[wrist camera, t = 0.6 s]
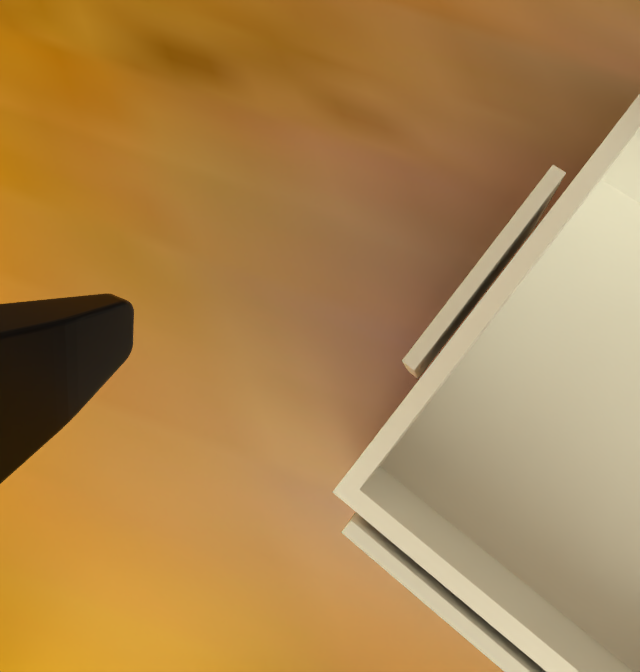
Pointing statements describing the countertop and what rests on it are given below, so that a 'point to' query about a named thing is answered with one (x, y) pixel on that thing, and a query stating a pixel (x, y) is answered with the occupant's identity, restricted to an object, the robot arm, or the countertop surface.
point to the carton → (526, 436)
